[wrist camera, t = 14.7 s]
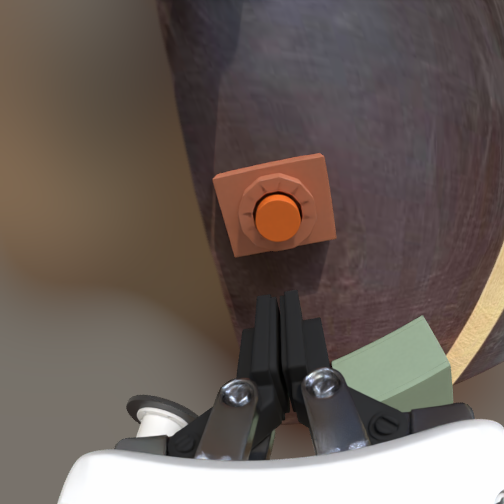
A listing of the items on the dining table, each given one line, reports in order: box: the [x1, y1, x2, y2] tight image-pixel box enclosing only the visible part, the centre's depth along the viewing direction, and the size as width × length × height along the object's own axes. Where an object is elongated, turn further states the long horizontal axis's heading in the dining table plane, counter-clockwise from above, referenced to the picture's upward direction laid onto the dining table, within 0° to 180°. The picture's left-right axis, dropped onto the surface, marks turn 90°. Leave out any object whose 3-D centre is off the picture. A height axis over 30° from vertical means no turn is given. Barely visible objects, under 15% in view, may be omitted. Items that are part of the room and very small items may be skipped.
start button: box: [255, 194, 301, 242], centre depth 23 cm, size 4×4×2 cm
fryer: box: [332, 316, 453, 412], centre depth 32 cm, size 15×13×10 cm
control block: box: [212, 153, 336, 257], centre depth 25 cm, size 10×8×4 cm
